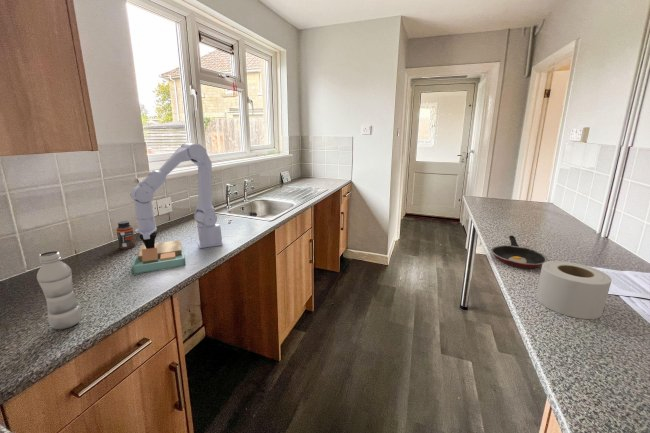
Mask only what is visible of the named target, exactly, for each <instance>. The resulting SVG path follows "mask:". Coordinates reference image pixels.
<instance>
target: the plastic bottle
mask: <svg viewBox="0 0 650 433" xmlns="http://www.w3.org/2000/svg"><path fill="white" fill-rule="evenodd" d="M38 258H39V263H40V264H41V266H40V267H39V269H38V271H37V273H36V280H37V282H38V285H39V286H40V288H41V290H42V292H43V295H44V298H45V300H46V308H47V322H48V324H49V326H50V327H51V328H52V329H55V330H64V329H68V328H71V327H73V326H75V325H78V323H79V322H80V321H81V319H82V310H81V307H80V305H79V304H78V301H77V299H76V296H75V294H74V293H75V292H74V287H73V274H72V268H70V266H69V265H68V264H67V263H65V262H64V261H62V257H61V254H60V252H59V251H58V250H51V251H45V252H42V253H40V254H39V255H38Z"/></svg>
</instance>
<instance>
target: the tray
mask: <svg viewBox="0 0 650 433" xmlns="http://www.w3.org/2000/svg"><path fill="white" fill-rule="evenodd" d="M181 250H182V255H179V256H176V259H173V260H167V261H161V260H160V259H158V261H157V262H151V263H144V264H143V262H142V261H141V262H139V259H138V255H135V256H134V257H133V260H132V264H131V273H132V275H140V274H145V273H151V272H157V271H163V270H169V269H174V268H175V269H176V268H182V267H186V256H185V248H181Z"/></svg>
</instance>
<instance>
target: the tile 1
mask: <svg viewBox="0 0 650 433" xmlns="http://www.w3.org/2000/svg"><path fill="white" fill-rule="evenodd" d="M157 261H158V249H157V248H149V249H142V262H143V264H144V263H151V262H157Z"/></svg>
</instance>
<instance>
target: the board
mask: <svg viewBox="0 0 650 433" xmlns="http://www.w3.org/2000/svg"><path fill="white" fill-rule="evenodd" d="M155 248H157V249H158V259H160V257H161V254H165V253H171V252H175V255H176V256H179V255H182V242H181V239H179V240H178V239H177V240H170V241H164V242H163V241H162V242H155ZM142 249H146V246H145V244H142V245H140V249H139V250H138V251H139V252H138V255H137V258H138V262H141V261H142Z"/></svg>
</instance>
